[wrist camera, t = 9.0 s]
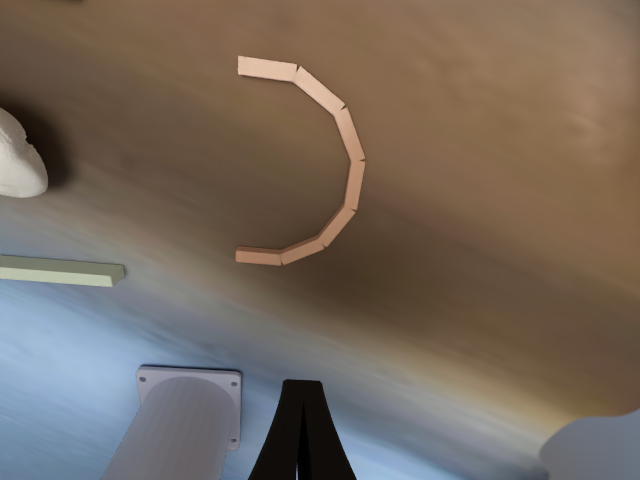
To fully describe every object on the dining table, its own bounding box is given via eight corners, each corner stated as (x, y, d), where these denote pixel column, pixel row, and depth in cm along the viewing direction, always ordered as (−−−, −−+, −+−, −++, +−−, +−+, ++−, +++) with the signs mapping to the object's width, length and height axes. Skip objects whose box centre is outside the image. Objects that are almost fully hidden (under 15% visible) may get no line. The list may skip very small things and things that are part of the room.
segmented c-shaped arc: (344, 266, 21) (345, 271, 20) (238, 256, 20) (235, 261, 20) (377, 77, 16) (380, 76, 16) (241, 57, 16) (238, 56, 15)
